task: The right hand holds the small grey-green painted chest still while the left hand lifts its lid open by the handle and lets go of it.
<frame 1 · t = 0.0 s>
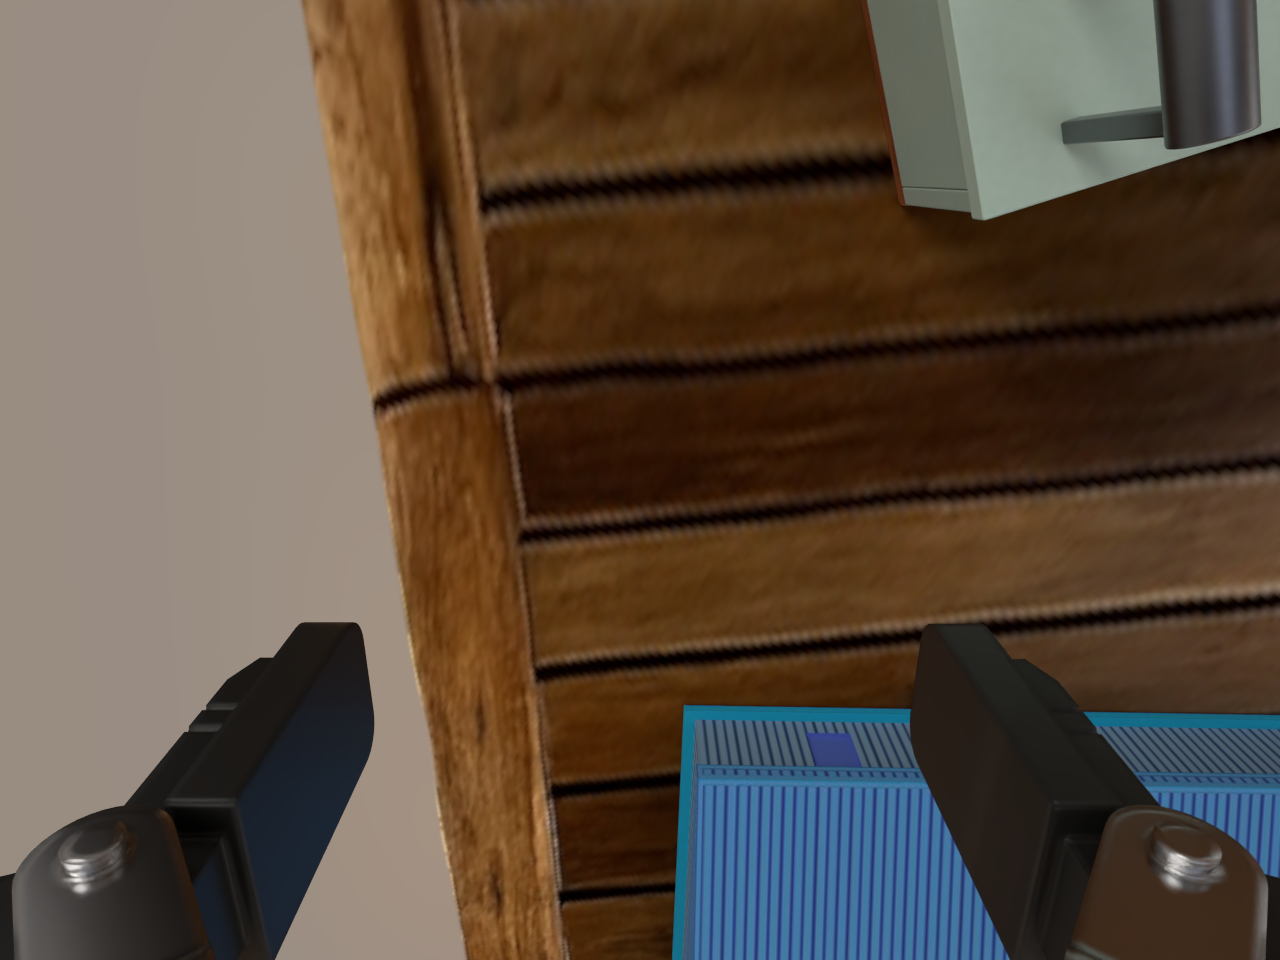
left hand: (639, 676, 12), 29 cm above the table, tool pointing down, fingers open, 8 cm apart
chest: (1070, 33, 35), on the table
model building: (986, 864, 51), on the table
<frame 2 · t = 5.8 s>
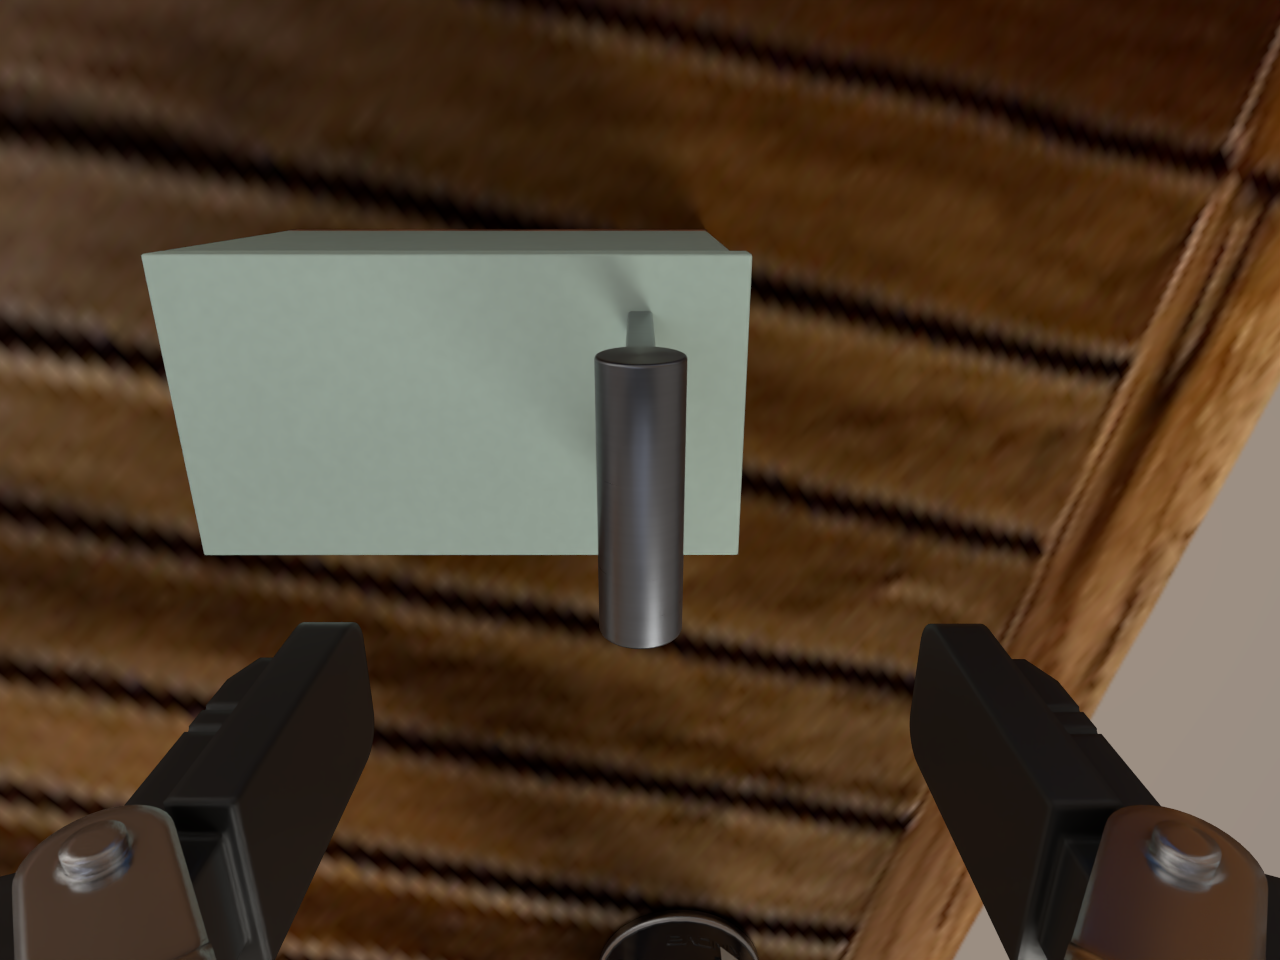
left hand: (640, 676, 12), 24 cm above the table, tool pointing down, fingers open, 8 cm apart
chest: (507, 343, 34), on the table
lid: (432, 450, 21), point 14 cm above the table, hinge at 0.0°
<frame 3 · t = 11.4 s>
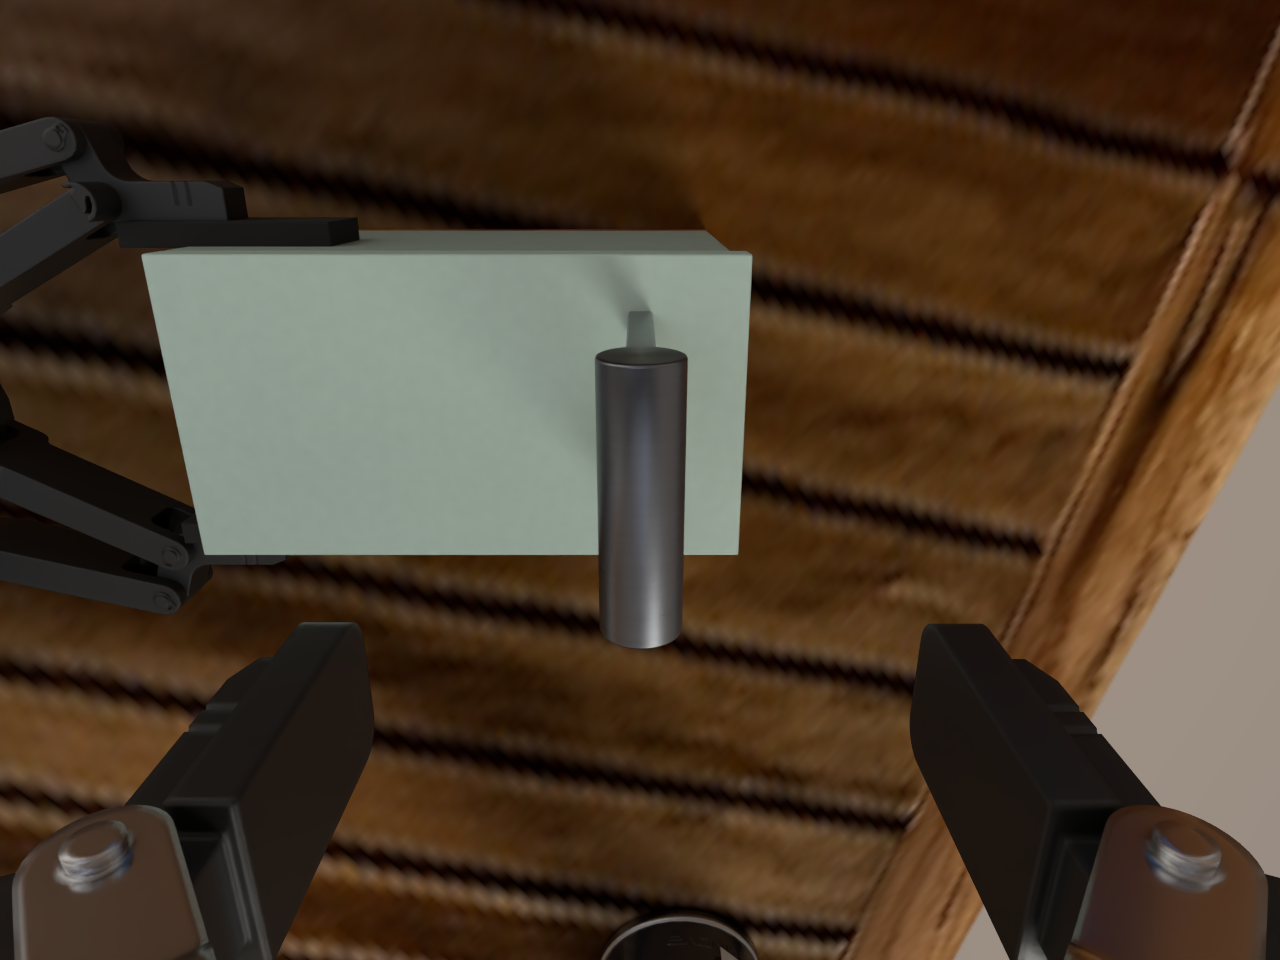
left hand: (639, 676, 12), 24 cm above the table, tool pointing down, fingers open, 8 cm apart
chest: (507, 343, 34), on the table, touching right hand
lid: (433, 450, 21), point 14 cm above the table, hinge at 0.0°
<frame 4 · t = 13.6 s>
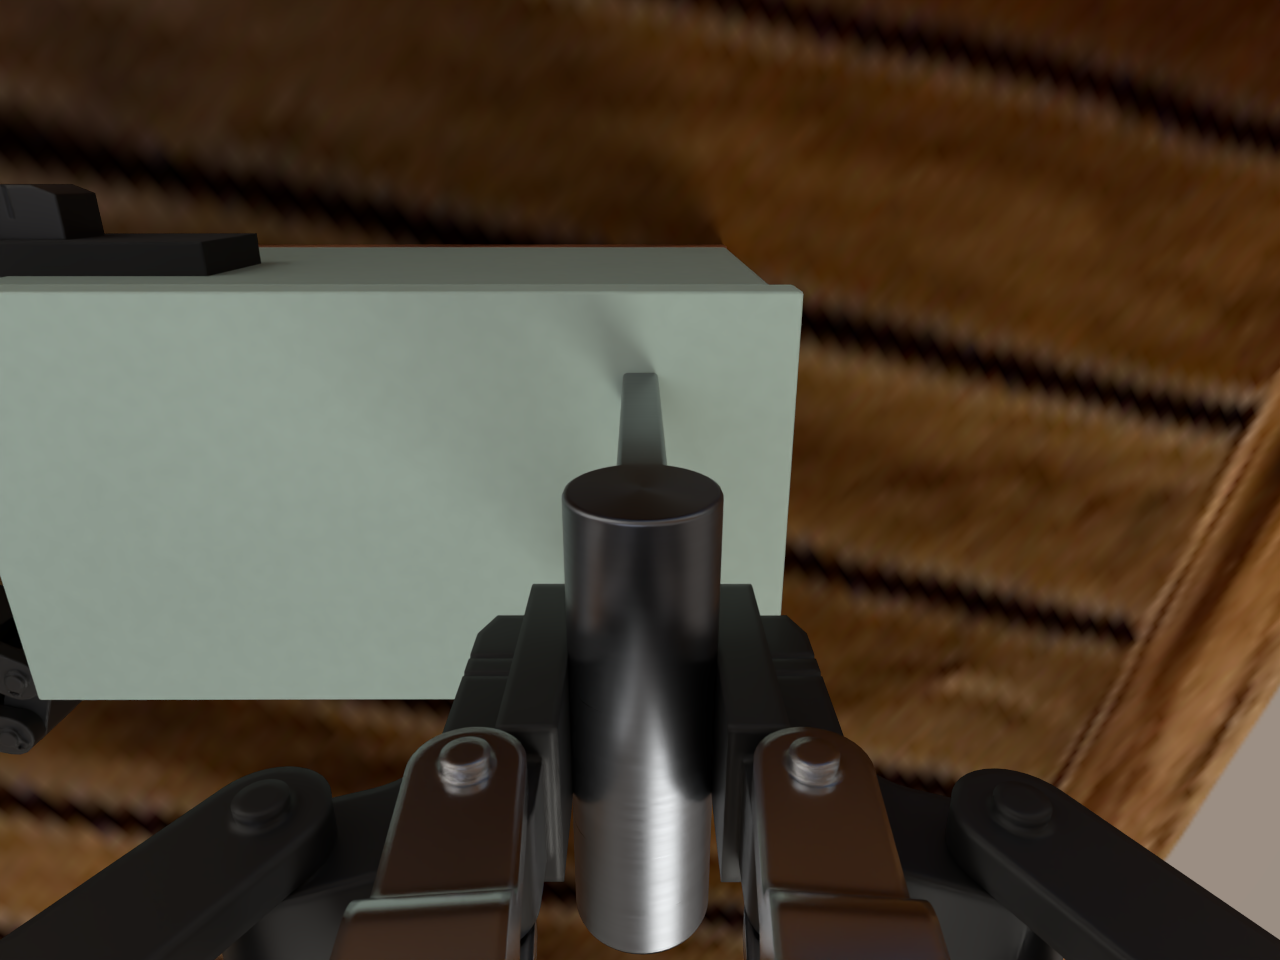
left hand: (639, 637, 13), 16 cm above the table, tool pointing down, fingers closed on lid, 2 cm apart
chest: (472, 388, 27), on the table, touching right hand
lid: (328, 592, 14), point 14 cm above the table, hinge at -0.1°, touching left hand
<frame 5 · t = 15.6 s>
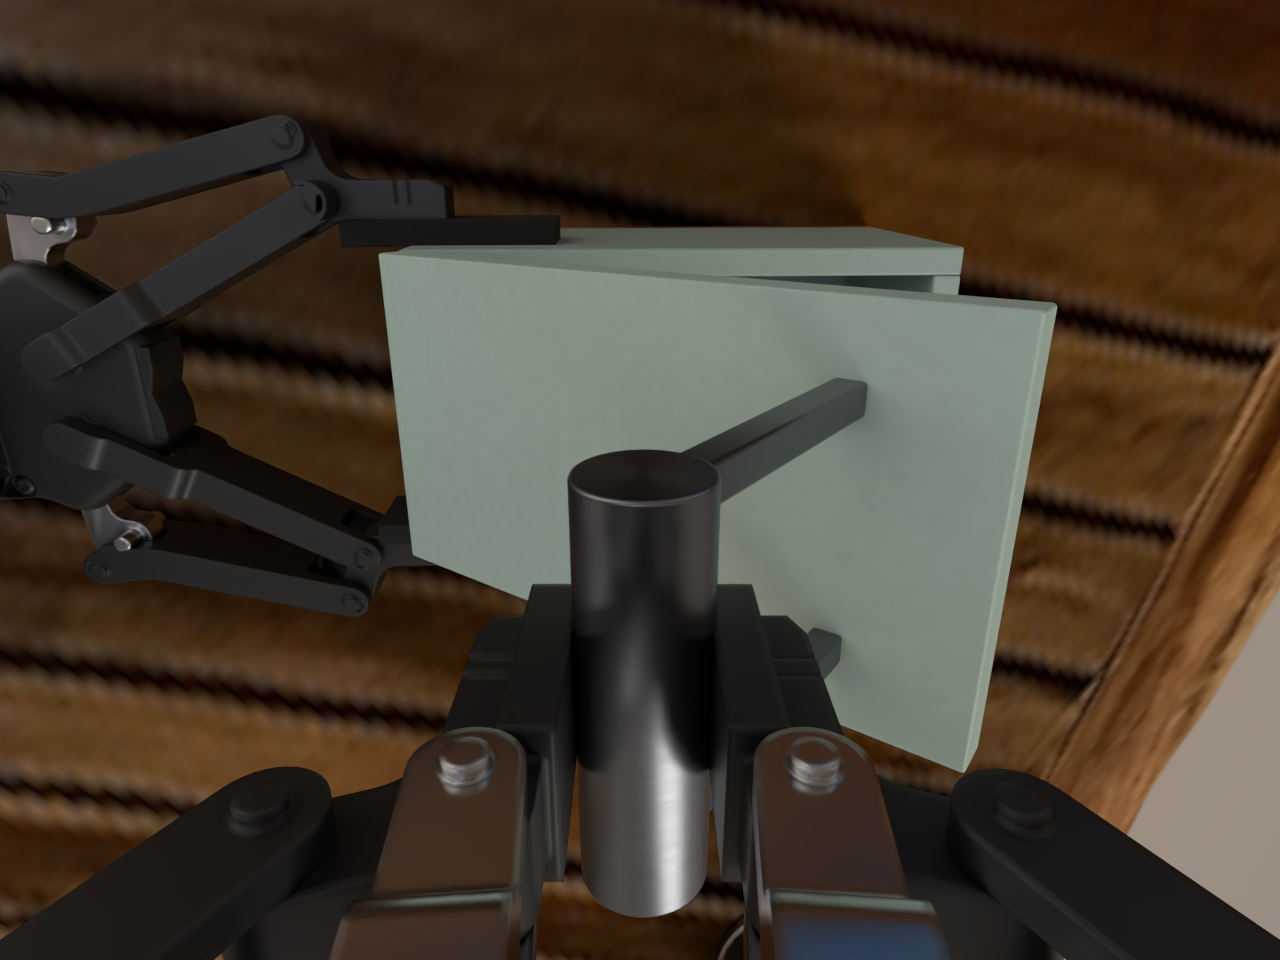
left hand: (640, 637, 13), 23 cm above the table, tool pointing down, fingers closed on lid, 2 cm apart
right hand: (563, 382, 28), fingers closed on chest, 9 cm apart
chest: (662, 341, 34), on the table, touching right hand
lid: (528, 519, 17), point 19 cm above the table, hinge at 37.9°, touching left hand
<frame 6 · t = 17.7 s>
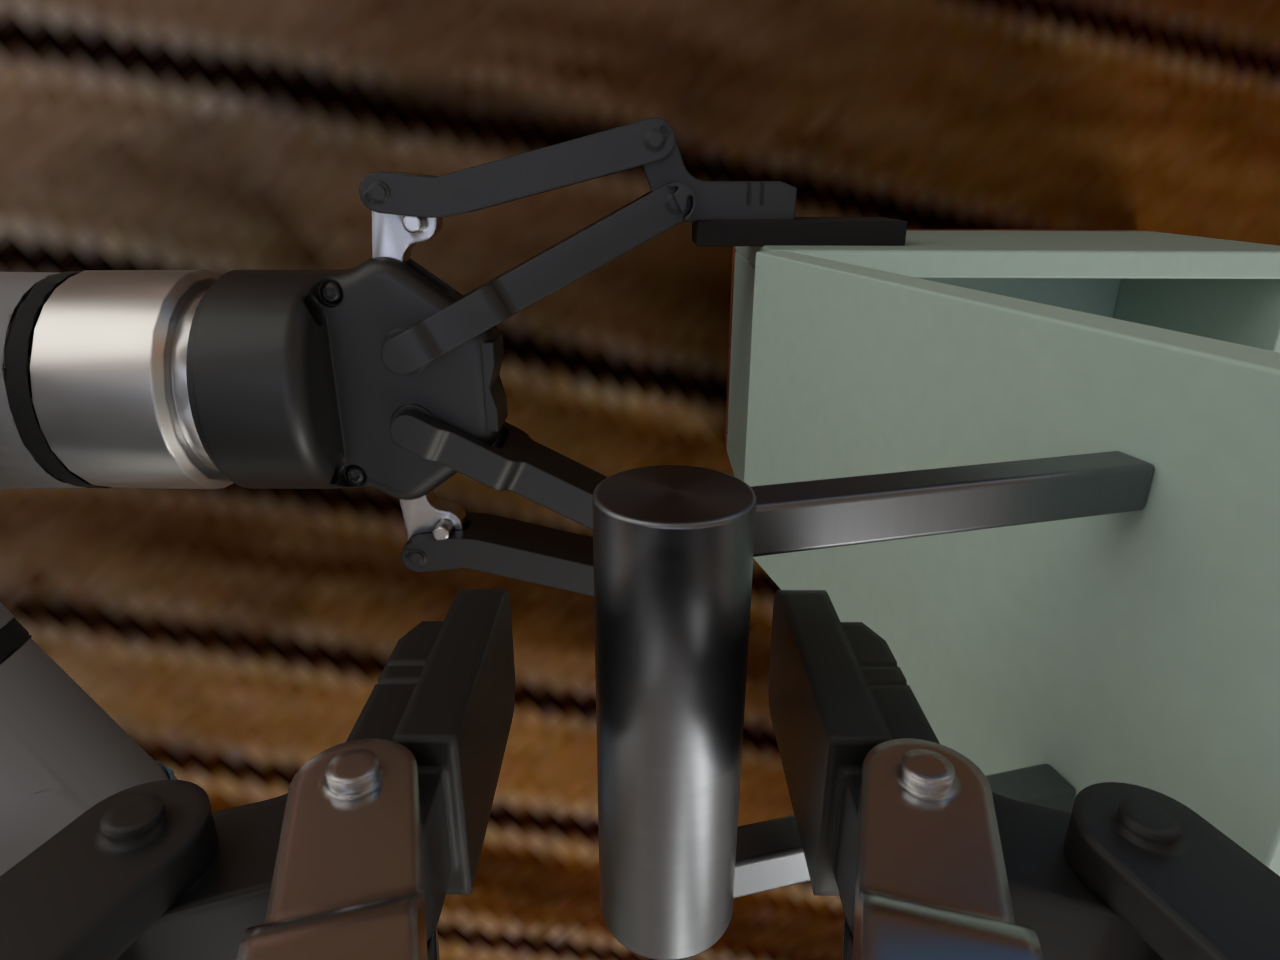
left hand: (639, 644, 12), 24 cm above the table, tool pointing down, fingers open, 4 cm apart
right hand: (877, 381, 28), fingers closed on chest, 9 cm apart
chest: (922, 342, 35), on the table, touching right hand
lid: (752, 529, 16), point 20 cm above the table, hinge at 74.9°
when the right hand's fingers open (7 cm above the table, at t = 21.5 s): chest stays where it is, on the table.
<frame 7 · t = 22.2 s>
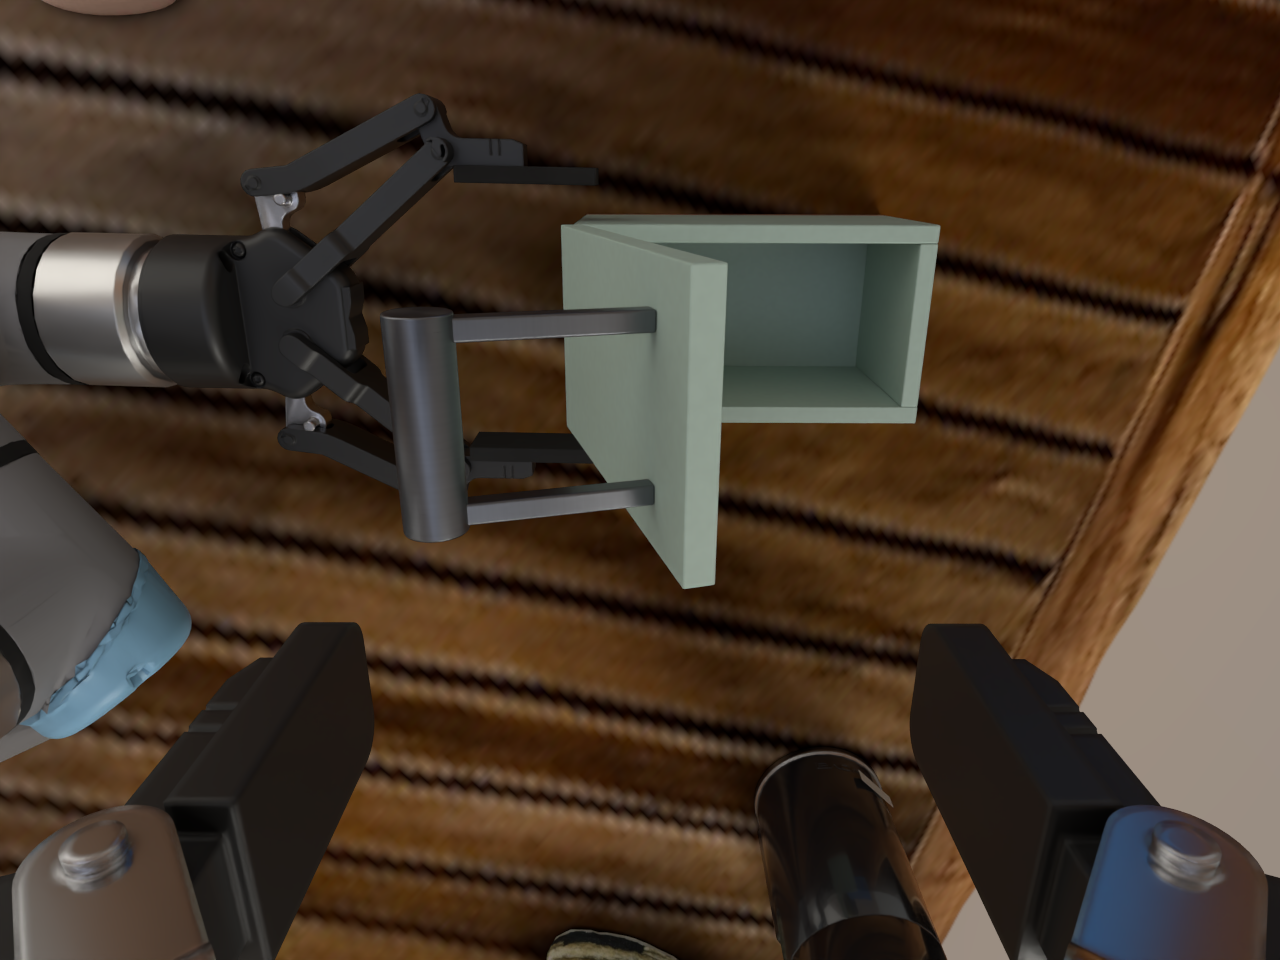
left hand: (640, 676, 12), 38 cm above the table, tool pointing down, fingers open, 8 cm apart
right hand: (597, 320, 41), fingers open, 13 cm apart
chest: (730, 298, 47), on the table
lid: (518, 376, 29), point 20 cm above the table, hinge at 73.6°
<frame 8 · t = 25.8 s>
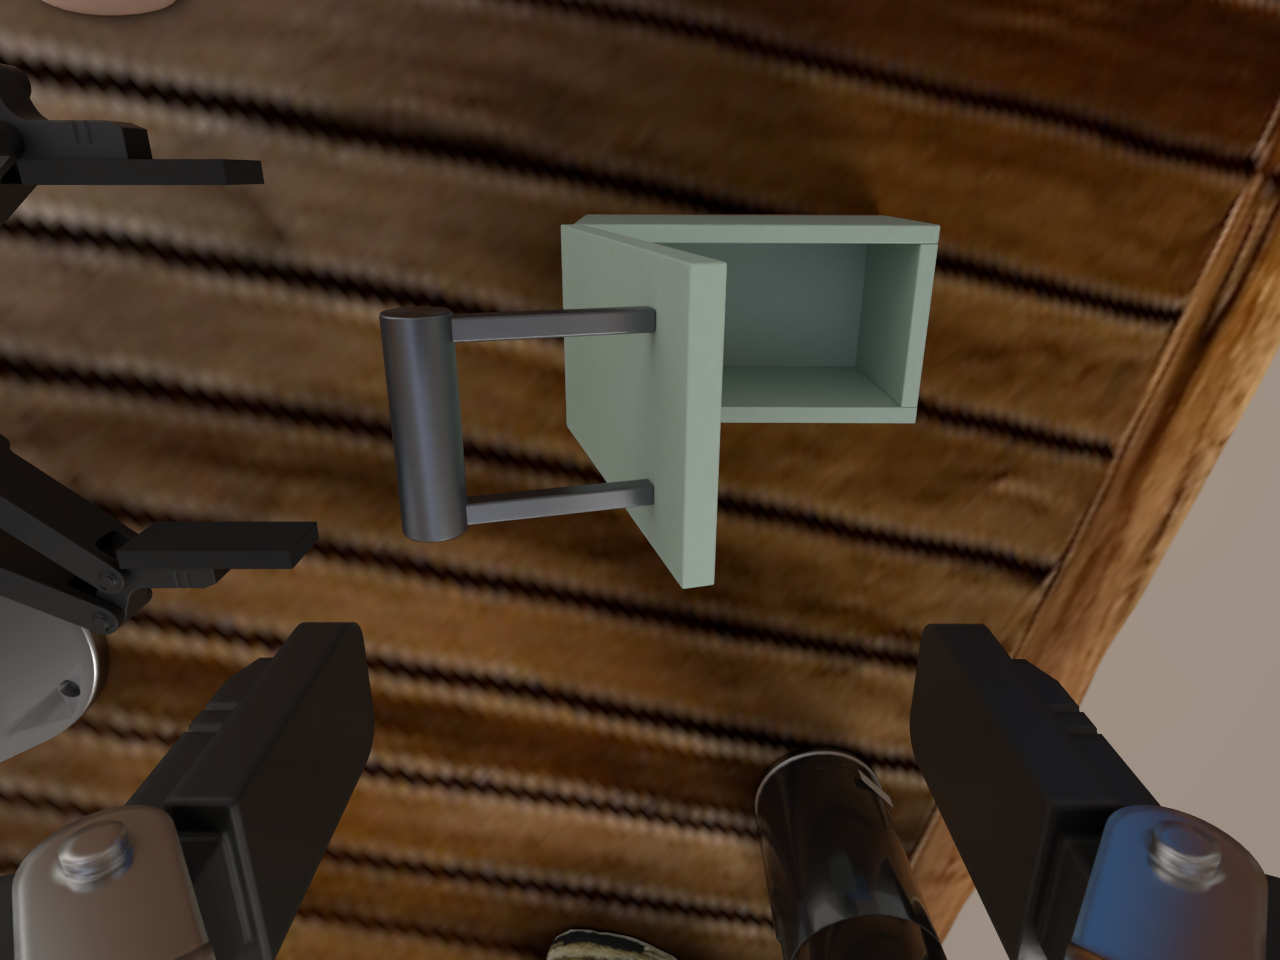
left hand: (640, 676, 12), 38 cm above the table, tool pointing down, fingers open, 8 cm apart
chest: (730, 298, 47), on the table
lid: (518, 375, 29), point 20 cm above the table, hinge at 73.6°
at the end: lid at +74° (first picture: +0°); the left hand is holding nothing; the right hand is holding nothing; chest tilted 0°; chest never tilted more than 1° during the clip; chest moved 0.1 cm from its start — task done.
